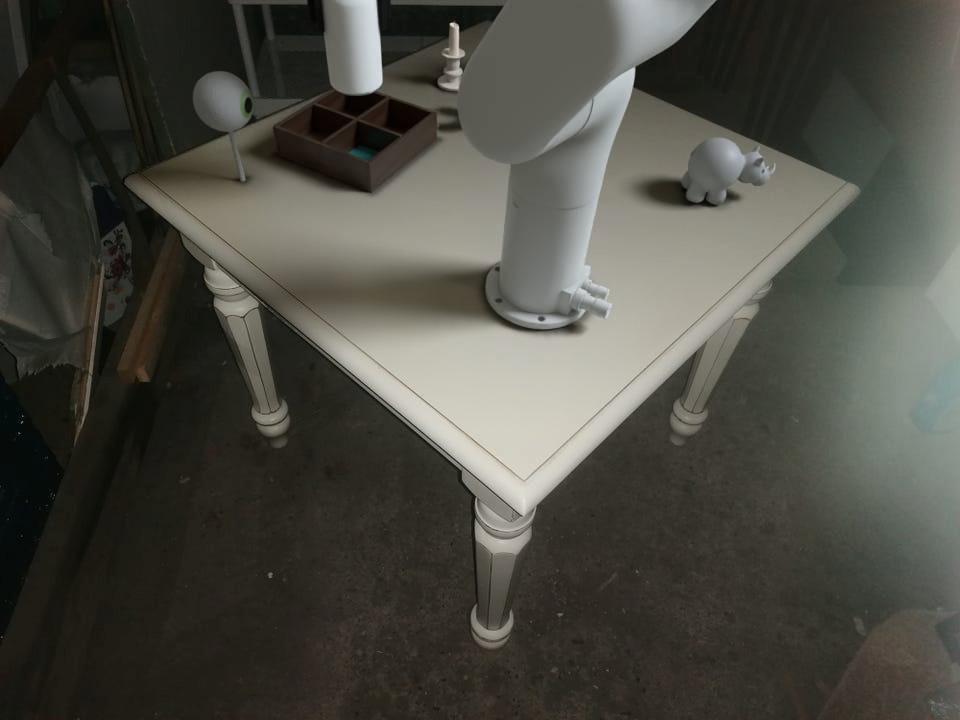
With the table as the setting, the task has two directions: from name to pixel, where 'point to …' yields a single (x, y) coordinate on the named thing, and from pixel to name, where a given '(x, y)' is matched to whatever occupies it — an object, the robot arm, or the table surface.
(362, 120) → the divided tray
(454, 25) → the candle
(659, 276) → the table surface
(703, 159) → the toy rhinoceros
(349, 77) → the can
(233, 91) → the lollipop
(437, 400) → the table surface
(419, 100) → the table surface
